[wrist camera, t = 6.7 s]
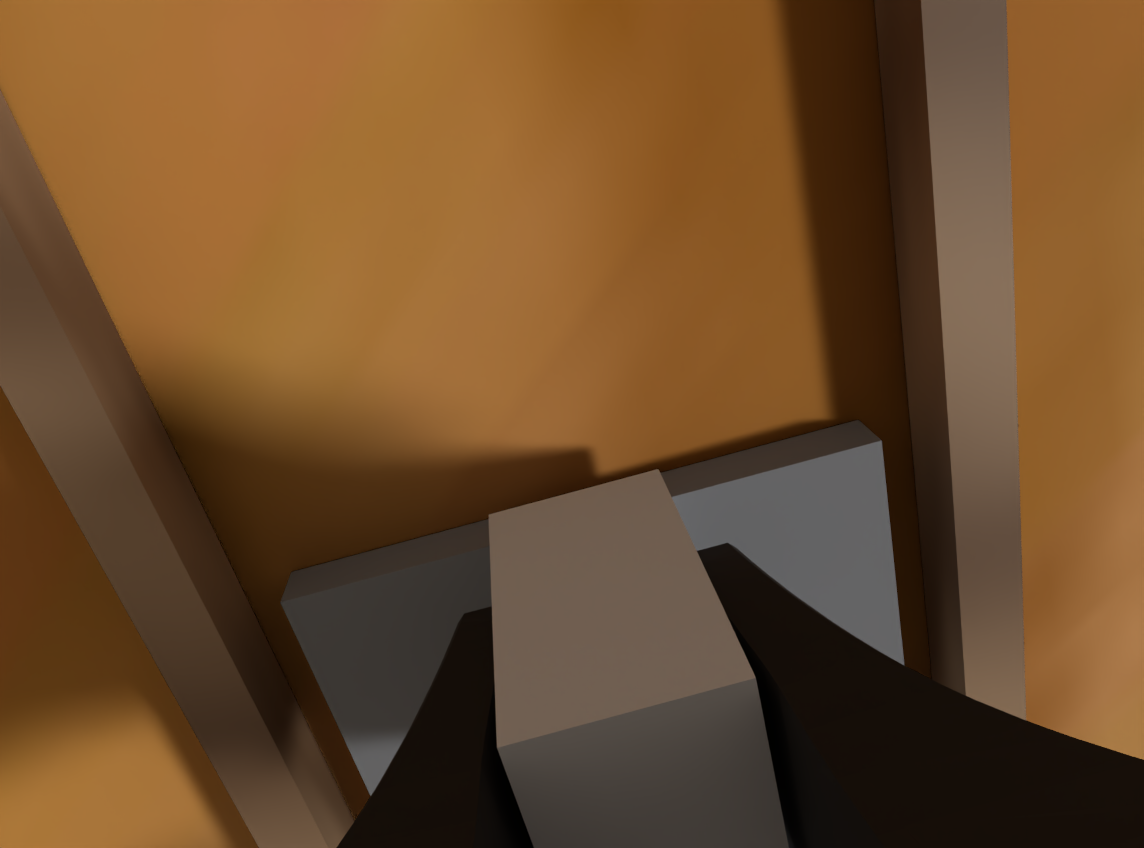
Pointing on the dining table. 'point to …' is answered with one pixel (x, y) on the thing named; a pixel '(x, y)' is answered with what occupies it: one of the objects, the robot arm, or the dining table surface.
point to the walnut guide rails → (212, 591)
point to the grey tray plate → (614, 636)
